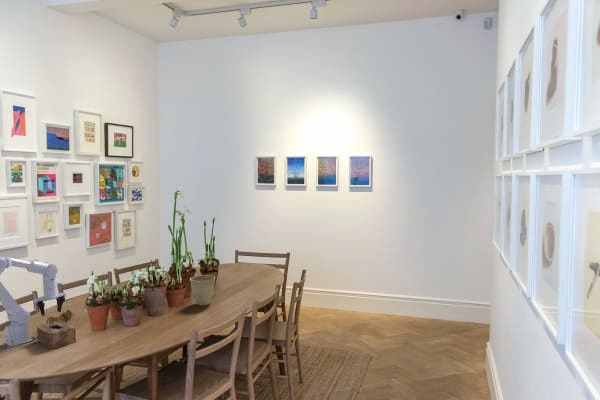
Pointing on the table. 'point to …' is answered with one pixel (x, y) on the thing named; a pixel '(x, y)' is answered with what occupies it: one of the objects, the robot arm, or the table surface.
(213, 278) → the plant pot
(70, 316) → the lion figurine
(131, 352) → the table surface
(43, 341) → the box
